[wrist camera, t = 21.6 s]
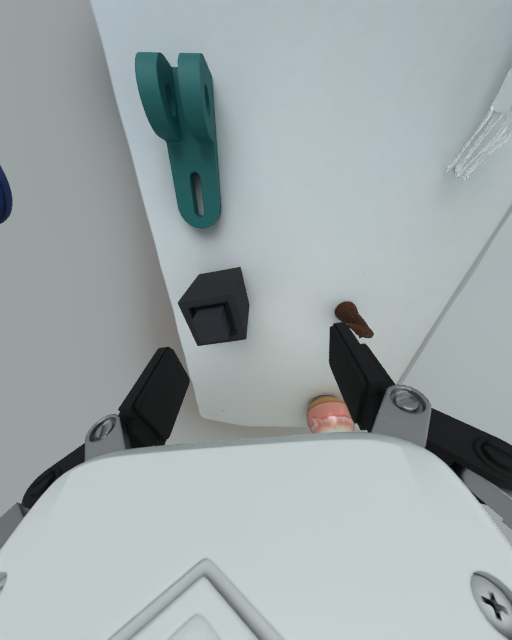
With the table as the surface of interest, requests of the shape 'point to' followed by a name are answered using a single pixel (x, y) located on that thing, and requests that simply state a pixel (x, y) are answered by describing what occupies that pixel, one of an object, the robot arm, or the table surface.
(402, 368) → the table surface
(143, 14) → the table surface
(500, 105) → the llama figurine
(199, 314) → the dark grey cube
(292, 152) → the table surface
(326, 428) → the vase
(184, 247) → the table surface
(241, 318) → the black rectangular box
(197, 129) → the bracket
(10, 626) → the robot arm
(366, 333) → the chess piece
